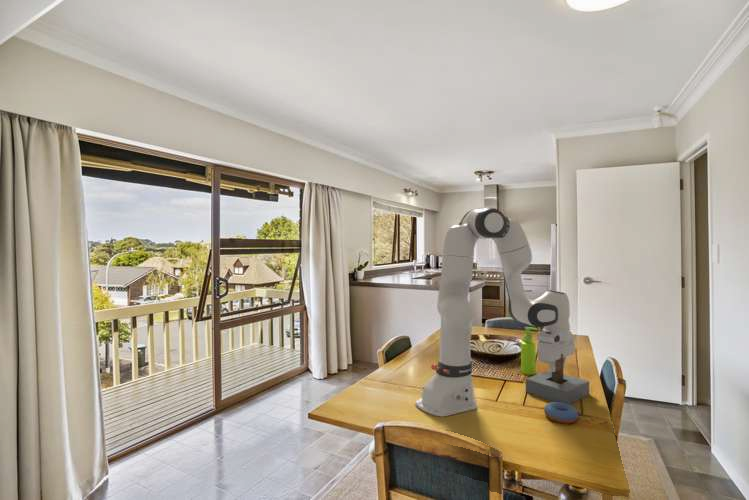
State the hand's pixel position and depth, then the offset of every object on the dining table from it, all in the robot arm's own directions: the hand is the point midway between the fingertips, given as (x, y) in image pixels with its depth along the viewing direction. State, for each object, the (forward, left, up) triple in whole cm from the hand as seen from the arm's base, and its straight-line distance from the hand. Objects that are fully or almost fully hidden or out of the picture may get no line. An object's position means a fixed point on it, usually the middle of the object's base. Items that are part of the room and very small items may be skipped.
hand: (557, 369), depth 145 cm
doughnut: (-19, -11, -9) cm, 24 cm away
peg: (0, 0, -6) cm, 6 cm away
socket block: (0, 0, -9) cm, 9 cm away
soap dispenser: (+12, +19, -9) cm, 24 cm away
